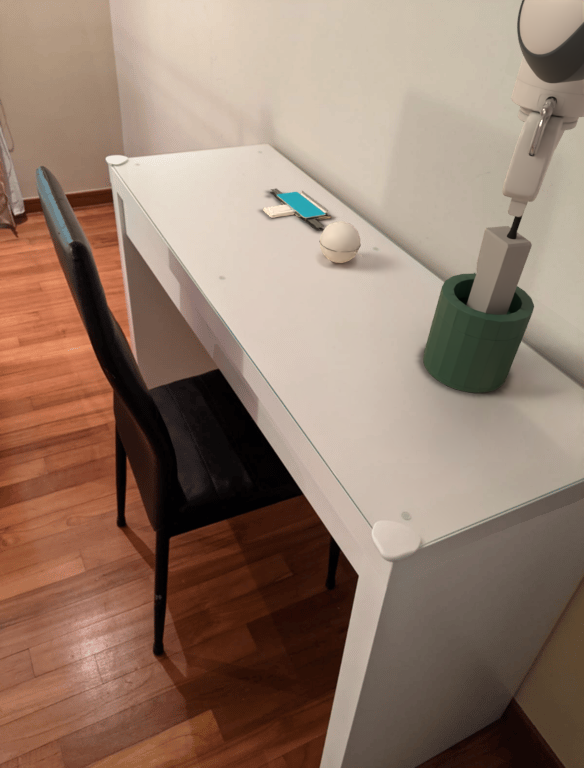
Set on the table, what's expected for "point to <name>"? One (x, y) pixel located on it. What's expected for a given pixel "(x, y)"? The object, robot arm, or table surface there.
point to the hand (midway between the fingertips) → (516, 210)
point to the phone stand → (298, 208)
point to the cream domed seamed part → (340, 242)
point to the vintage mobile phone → (499, 268)
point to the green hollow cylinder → (474, 338)
